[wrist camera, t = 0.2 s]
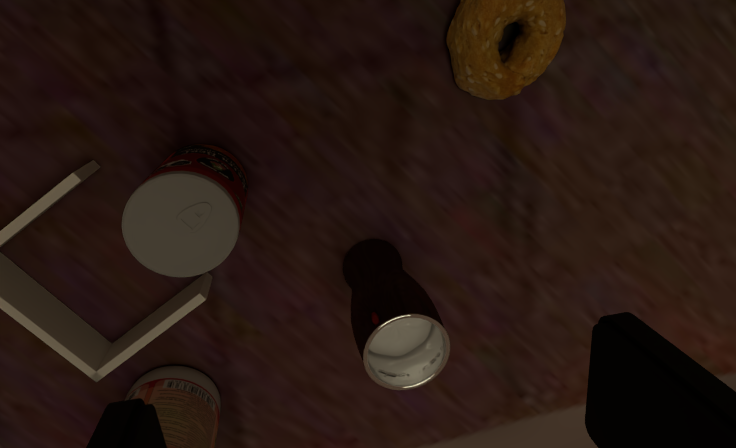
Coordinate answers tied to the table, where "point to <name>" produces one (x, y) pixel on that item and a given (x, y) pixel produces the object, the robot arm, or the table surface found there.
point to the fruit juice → (181, 405)
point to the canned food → (187, 212)
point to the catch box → (60, 324)
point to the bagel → (519, 59)
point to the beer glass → (393, 318)
